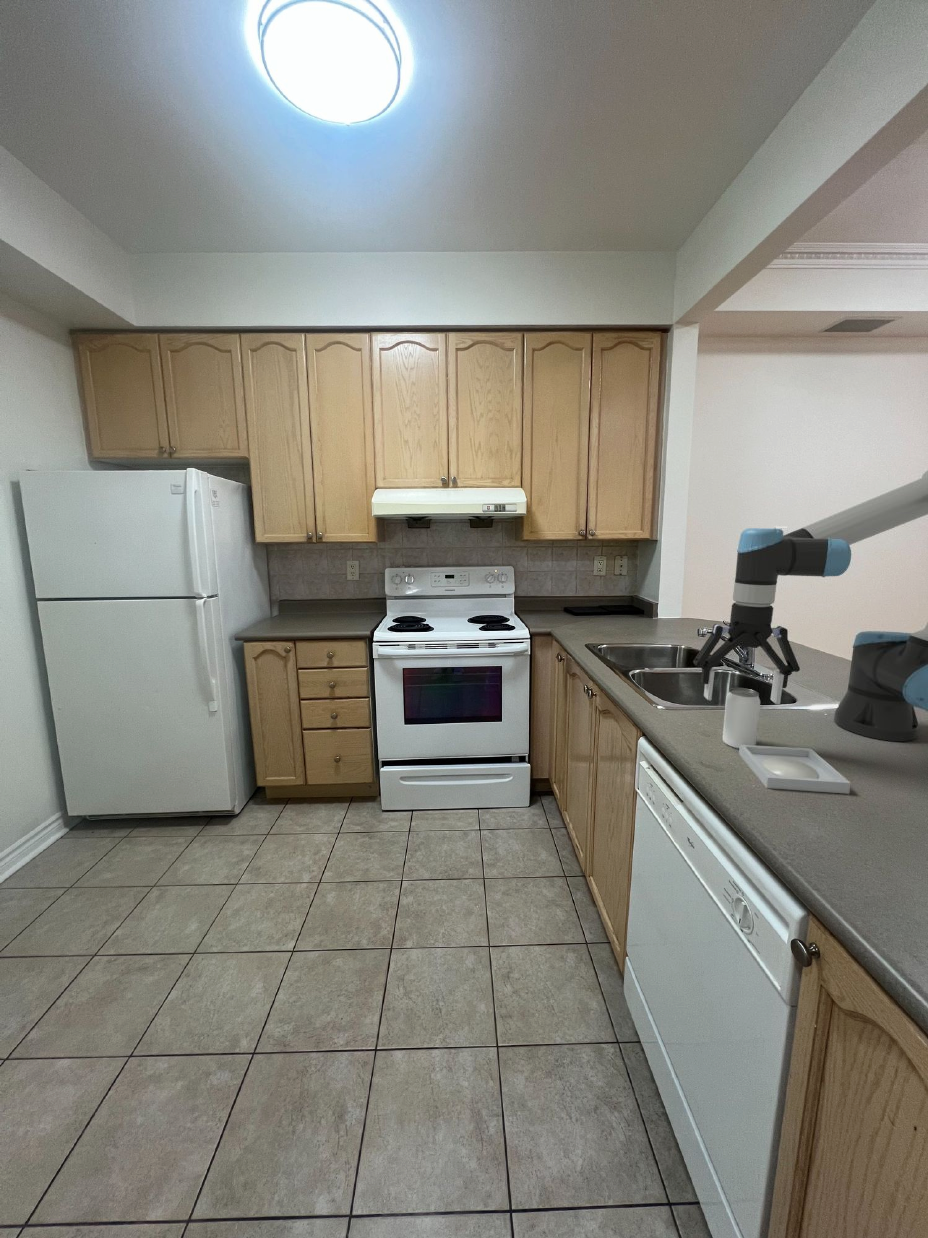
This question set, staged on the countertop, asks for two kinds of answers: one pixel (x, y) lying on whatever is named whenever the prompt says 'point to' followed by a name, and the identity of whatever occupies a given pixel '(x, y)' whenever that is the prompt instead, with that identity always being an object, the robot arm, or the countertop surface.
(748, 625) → the robot arm
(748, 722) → the can
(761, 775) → the flange tray
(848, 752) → the countertop surface
